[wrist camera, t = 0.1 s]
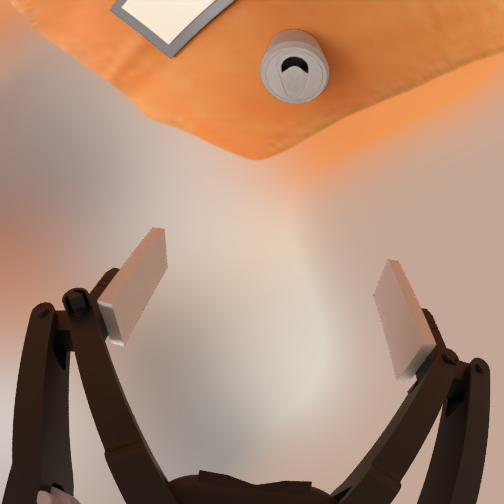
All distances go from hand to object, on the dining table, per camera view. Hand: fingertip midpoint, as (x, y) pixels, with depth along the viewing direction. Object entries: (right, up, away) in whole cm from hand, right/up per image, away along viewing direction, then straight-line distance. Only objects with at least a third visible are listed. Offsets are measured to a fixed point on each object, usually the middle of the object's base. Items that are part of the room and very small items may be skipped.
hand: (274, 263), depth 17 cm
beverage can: (+4, +25, +13) cm, 29 cm away
